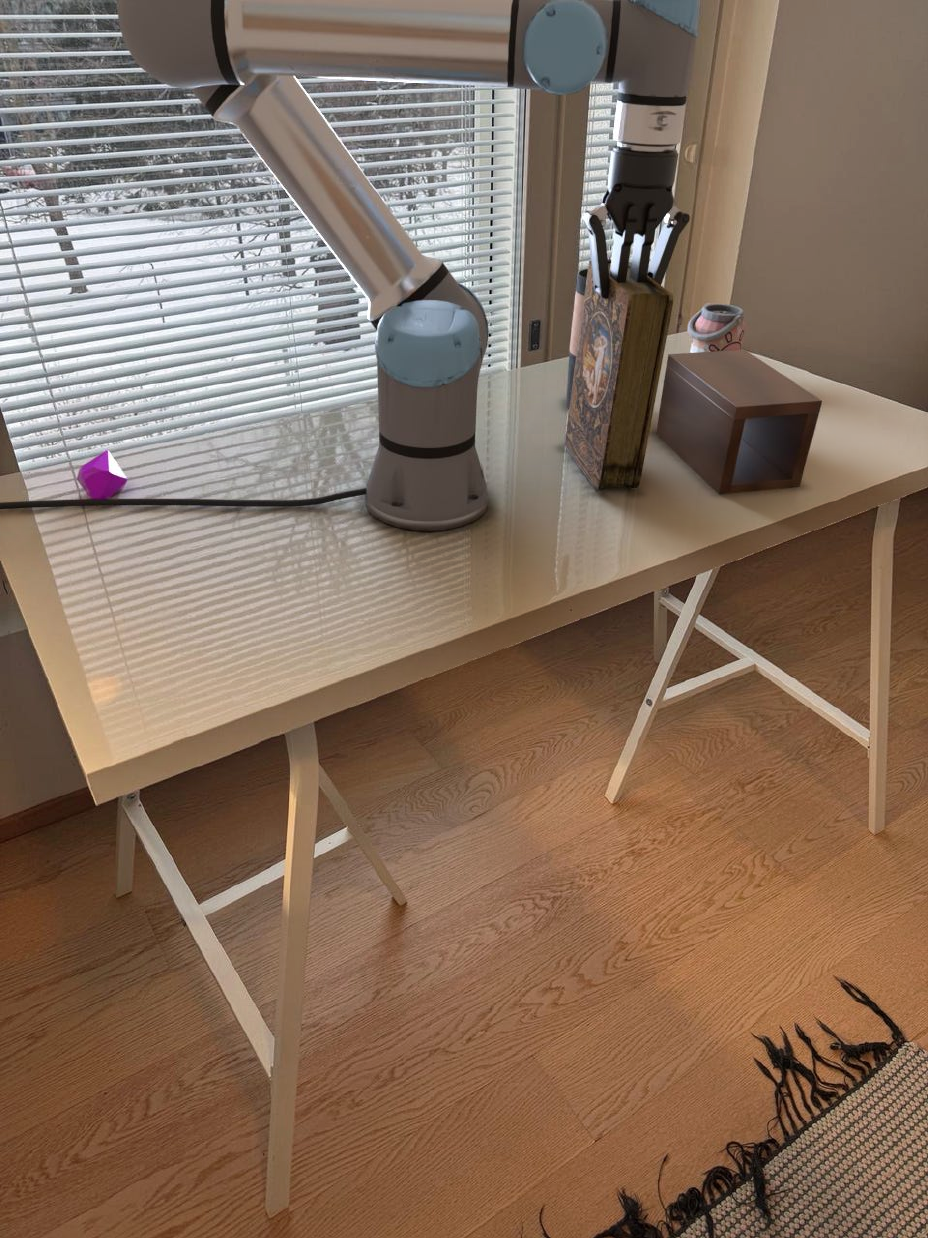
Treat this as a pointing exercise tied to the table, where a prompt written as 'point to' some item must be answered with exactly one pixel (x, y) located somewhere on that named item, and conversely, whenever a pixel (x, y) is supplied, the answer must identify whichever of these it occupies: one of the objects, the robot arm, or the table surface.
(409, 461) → the robot arm
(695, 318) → the patterned ceramic cup
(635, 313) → the book
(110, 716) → the table surface
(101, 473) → the crystal
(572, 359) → the travel mug
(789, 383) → the shelf
